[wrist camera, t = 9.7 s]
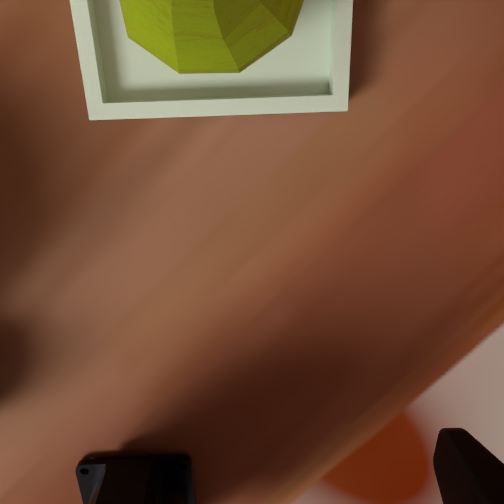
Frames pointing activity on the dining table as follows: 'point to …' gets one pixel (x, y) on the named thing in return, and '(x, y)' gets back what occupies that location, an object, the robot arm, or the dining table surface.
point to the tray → (214, 84)
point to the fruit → (209, 31)
